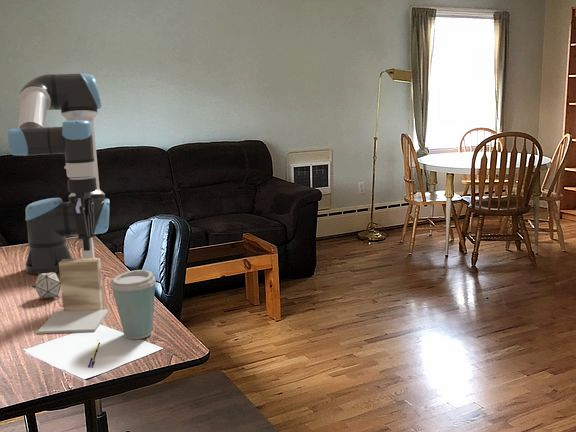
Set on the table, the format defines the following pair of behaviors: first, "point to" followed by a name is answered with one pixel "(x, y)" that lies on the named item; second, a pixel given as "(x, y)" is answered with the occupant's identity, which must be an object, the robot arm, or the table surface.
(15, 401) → the table surface
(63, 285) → the wooden block
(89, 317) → the mat
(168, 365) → the table surface
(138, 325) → the disposable coffee cup
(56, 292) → the game die
